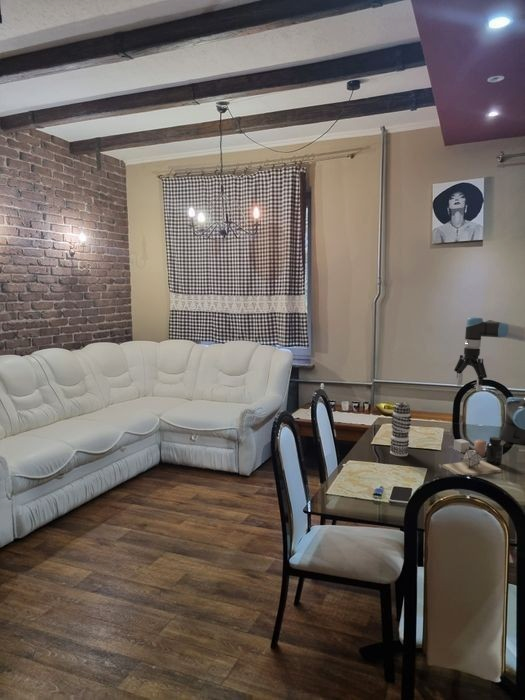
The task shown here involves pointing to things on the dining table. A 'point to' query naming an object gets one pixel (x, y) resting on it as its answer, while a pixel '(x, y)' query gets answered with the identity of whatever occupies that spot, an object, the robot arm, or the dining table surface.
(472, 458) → the game die
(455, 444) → the grey block
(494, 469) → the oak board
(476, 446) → the terracotta cylinder
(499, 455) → the supplement bottle
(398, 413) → the tower model
